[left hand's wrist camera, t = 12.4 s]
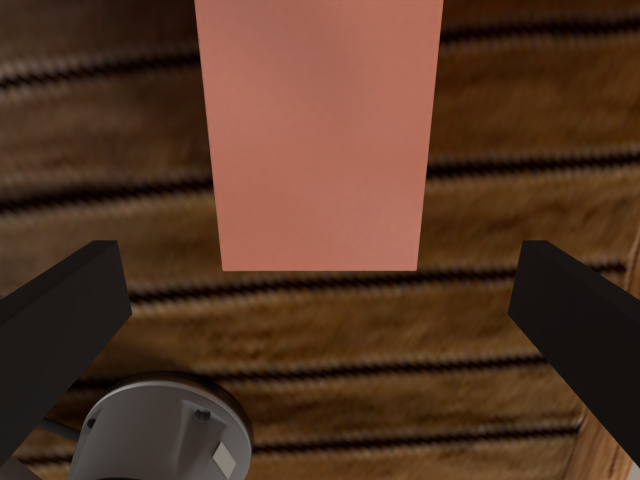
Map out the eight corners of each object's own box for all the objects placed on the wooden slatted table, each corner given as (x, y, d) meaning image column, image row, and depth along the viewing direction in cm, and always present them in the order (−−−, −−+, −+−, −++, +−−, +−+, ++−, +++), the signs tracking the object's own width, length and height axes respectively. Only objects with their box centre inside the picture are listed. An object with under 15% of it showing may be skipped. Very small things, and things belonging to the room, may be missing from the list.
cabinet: (228, -138, 21) (161, -306, 12) (409, -139, 21) (474, -308, 12) (252, 216, 28) (222, 271, 19) (386, 216, 28) (416, 271, 19)
